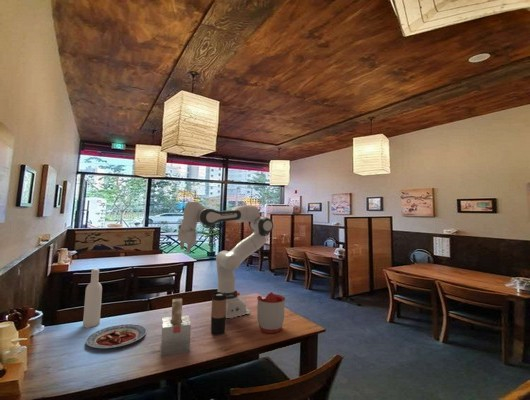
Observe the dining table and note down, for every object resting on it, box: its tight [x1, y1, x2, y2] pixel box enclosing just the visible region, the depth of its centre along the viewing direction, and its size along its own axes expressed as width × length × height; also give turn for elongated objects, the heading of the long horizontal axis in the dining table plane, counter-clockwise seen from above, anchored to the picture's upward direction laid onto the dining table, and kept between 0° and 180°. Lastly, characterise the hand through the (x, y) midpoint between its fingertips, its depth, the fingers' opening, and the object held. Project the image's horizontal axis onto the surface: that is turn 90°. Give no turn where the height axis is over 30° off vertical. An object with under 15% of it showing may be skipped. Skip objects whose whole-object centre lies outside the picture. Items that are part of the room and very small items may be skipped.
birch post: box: [171, 297, 183, 324], centre depth 121 cm, size 4×4×20 cm
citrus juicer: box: [256, 291, 286, 334], centre depth 145 cm, size 16×17×20 cm
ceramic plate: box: [85, 323, 147, 349], centre depth 128 cm, size 26×26×3 cm
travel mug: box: [210, 291, 227, 336], centre depth 138 cm, size 8×8×20 cm
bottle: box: [82, 268, 103, 329], centre depth 144 cm, size 8×8×30 cm
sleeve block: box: [160, 314, 192, 357], centre depth 121 cm, size 12×13×12 cm
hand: (184, 250), depth 155 cm, fingers open, 8 cm apart
